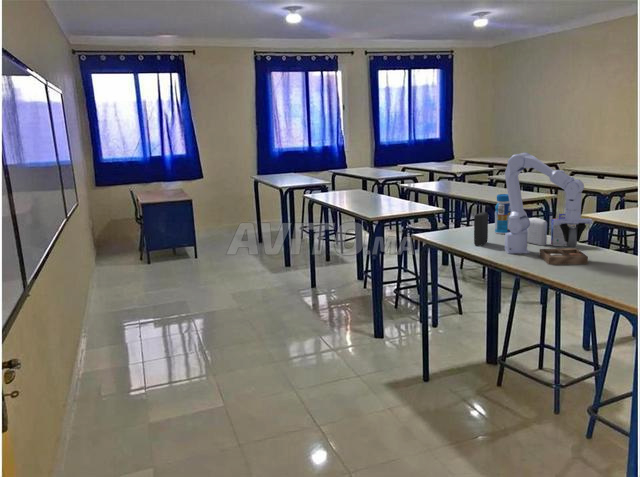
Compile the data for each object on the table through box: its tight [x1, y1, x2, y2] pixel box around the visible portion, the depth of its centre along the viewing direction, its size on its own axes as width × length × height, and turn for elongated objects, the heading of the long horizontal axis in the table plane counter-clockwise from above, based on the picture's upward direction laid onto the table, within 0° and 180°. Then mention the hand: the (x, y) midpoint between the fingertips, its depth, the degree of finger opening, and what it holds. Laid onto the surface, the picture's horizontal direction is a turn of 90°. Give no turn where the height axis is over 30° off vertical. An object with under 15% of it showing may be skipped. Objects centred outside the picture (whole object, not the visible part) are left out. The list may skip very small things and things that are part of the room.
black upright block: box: [473, 211, 489, 246], centre depth 253 cm, size 9×4×15 cm, turn 141°
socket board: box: [539, 247, 589, 265], centre depth 221 cm, size 15×14×3 cm
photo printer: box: [527, 217, 548, 247], centre depth 248 cm, size 10×4×12 cm, turn 31°
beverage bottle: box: [494, 193, 511, 235], centre depth 273 cm, size 8×8×20 cm
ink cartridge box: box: [550, 213, 576, 247], centre depth 242 cm, size 10×6×14 cm, turn 78°
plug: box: [565, 226, 578, 248], centre depth 220 cm, size 4×4×9 cm
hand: (571, 241), depth 220 cm, fingers closed on plug, 4 cm apart
